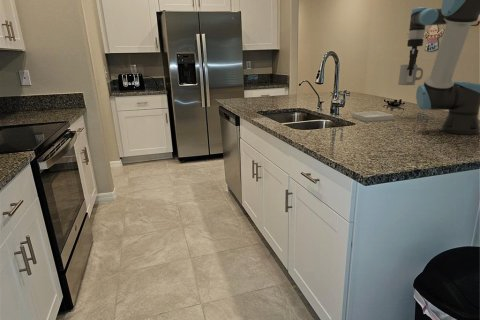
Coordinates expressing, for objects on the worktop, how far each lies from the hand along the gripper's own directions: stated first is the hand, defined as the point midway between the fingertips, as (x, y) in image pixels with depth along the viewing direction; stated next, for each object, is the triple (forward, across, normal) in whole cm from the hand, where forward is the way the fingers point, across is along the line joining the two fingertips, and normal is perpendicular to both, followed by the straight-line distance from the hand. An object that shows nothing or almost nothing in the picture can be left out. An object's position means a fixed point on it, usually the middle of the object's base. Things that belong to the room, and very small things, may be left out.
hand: (410, 81), depth 179 cm
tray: (+21, +10, -17) cm, 29 cm away
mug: (+2, 0, 0) cm, 2 cm away
